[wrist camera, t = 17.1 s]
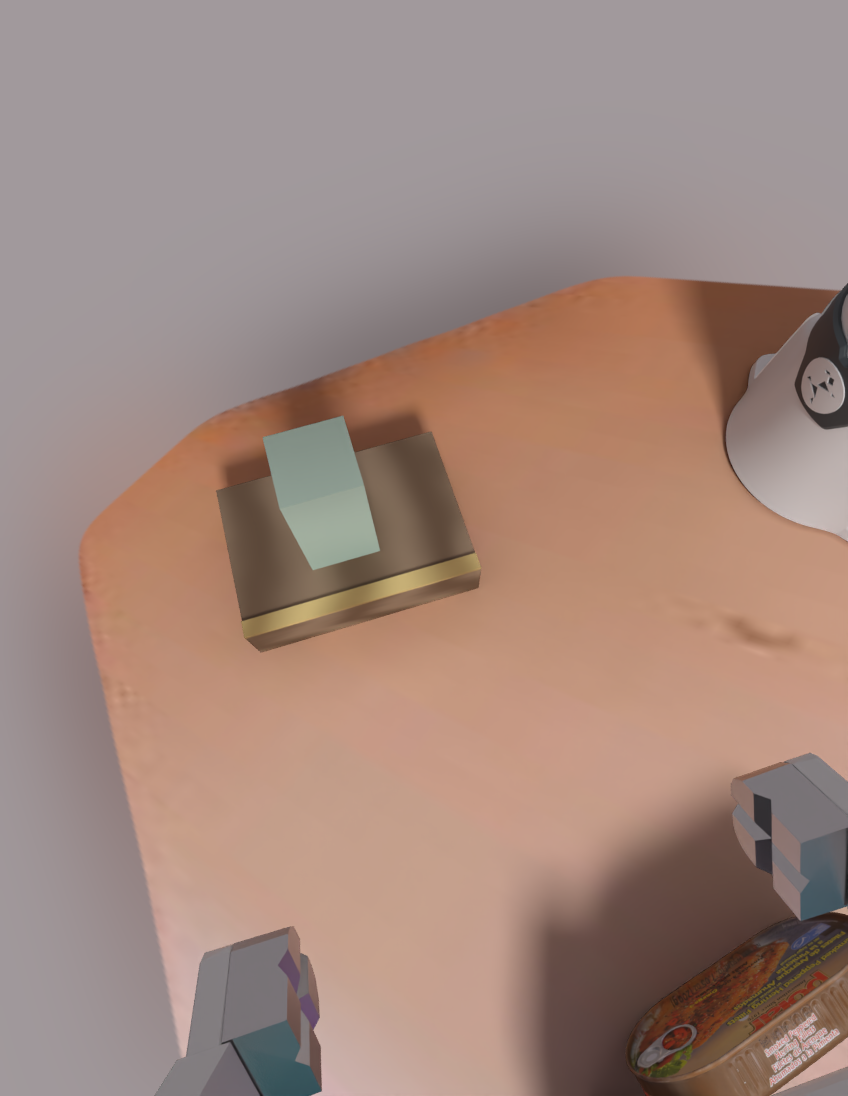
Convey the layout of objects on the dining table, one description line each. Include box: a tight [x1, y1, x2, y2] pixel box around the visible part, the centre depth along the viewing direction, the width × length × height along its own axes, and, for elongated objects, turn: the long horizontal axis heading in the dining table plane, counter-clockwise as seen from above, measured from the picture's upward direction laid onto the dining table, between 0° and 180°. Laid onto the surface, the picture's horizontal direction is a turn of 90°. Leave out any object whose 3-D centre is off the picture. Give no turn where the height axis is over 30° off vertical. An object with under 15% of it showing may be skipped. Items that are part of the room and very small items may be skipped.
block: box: [263, 416, 380, 570], centre depth 43 cm, size 5×5×10 cm
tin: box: [625, 912, 848, 1096], centre depth 36 cm, size 15×3×8 cm, turn 118°
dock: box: [216, 432, 481, 652], centre depth 49 cm, size 17×12×4 cm
